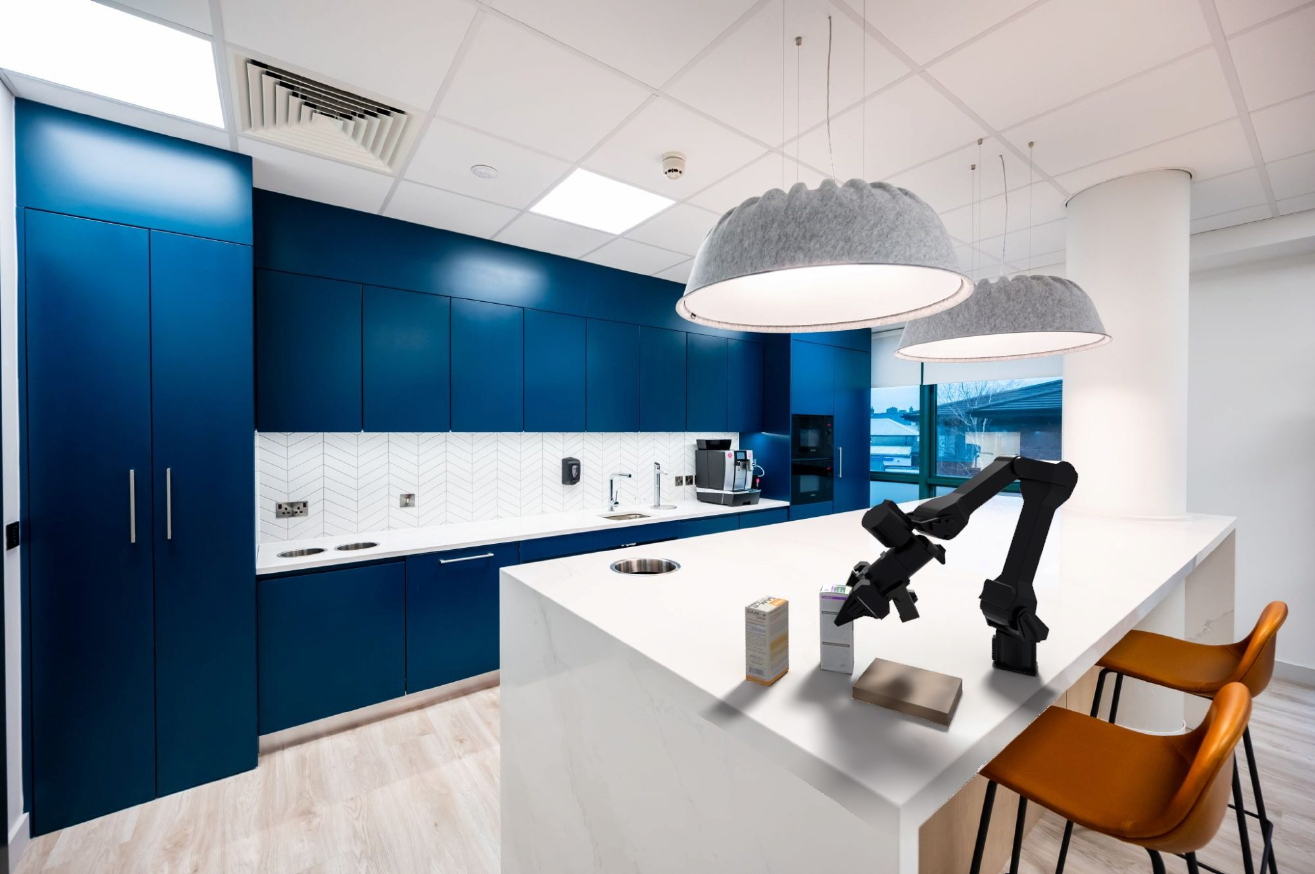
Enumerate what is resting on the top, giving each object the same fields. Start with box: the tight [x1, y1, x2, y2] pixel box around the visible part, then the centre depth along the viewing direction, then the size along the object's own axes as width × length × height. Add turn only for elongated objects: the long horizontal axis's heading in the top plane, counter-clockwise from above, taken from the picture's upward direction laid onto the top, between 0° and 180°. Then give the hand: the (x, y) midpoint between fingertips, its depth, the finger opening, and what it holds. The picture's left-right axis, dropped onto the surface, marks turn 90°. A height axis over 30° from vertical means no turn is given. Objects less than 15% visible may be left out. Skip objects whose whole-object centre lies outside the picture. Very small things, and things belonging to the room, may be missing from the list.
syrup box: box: [818, 583, 855, 675], centre depth 100 cm, size 6×6×14 cm
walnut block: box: [851, 657, 963, 727], centre depth 90 cm, size 14×14×2 cm
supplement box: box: [744, 595, 790, 687], centre depth 97 cm, size 8×5×13 cm, turn 141°
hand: (836, 616), depth 100 cm, fingers open, 9 cm apart
